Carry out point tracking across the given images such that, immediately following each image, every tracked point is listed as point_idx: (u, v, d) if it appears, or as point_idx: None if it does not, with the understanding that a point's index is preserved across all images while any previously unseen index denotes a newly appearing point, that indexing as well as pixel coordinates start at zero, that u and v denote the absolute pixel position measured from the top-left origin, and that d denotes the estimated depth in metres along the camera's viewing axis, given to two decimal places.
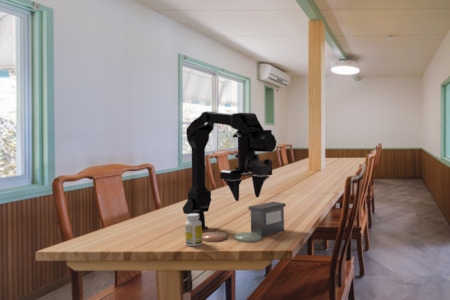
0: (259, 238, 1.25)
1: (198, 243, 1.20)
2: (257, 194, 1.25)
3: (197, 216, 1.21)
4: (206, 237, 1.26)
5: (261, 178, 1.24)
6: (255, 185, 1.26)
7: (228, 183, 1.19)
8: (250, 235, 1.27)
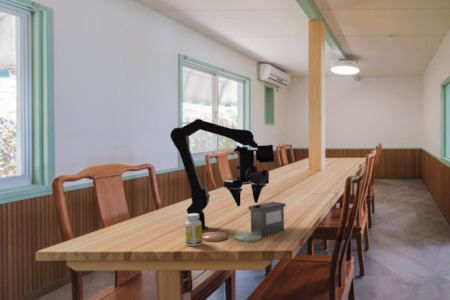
0: (259, 238, 1.25)
1: (198, 243, 1.20)
2: (256, 200, 1.44)
3: (197, 216, 1.21)
4: (206, 237, 1.26)
5: (259, 186, 1.43)
6: (254, 192, 1.45)
7: (231, 191, 1.38)
8: (250, 235, 1.27)
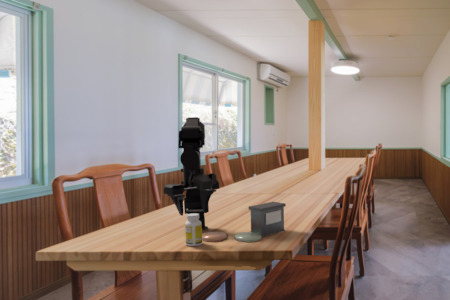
0: (259, 238, 1.25)
1: (198, 243, 1.20)
2: (204, 208, 1.24)
3: (197, 216, 1.21)
4: (206, 237, 1.26)
5: (207, 192, 1.24)
6: (202, 199, 1.25)
7: (172, 198, 1.19)
8: (250, 235, 1.27)
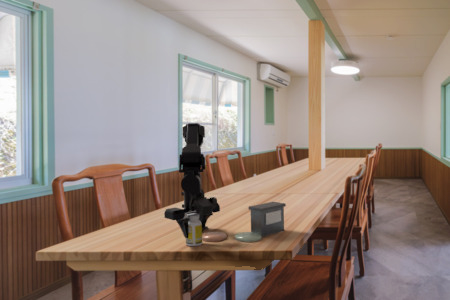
0: (259, 238, 1.25)
1: (198, 243, 1.20)
2: None
3: (197, 216, 1.21)
4: (206, 237, 1.26)
5: (204, 216, 1.23)
6: None
7: (178, 221, 1.20)
8: (250, 235, 1.27)
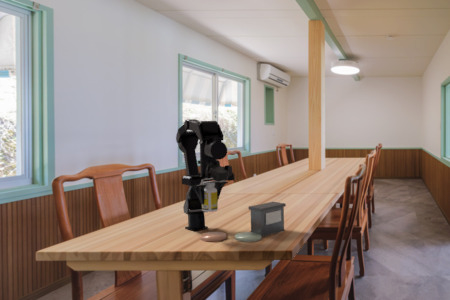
0: (259, 238, 1.25)
1: (214, 209, 1.25)
2: None
3: (213, 183, 1.26)
4: (206, 237, 1.26)
5: (219, 184, 1.28)
6: None
7: (194, 187, 1.26)
8: (250, 235, 1.27)
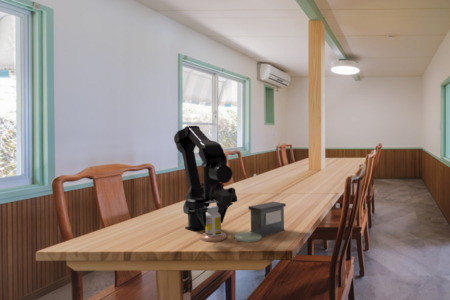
0: (259, 238, 1.25)
1: (217, 234, 1.27)
2: (221, 220, 1.31)
3: (216, 208, 1.27)
4: (206, 237, 1.26)
5: (224, 205, 1.30)
6: (219, 212, 1.32)
7: (196, 210, 1.26)
8: (250, 235, 1.27)
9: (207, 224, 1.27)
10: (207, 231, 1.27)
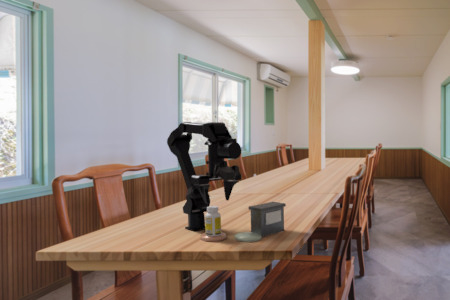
0: (259, 238, 1.25)
1: (217, 234, 1.27)
2: (227, 197, 1.34)
3: (216, 208, 1.27)
4: (206, 237, 1.26)
5: (230, 183, 1.33)
6: (225, 189, 1.35)
7: (198, 187, 1.29)
8: (250, 235, 1.27)
9: (207, 224, 1.27)
10: (207, 231, 1.27)
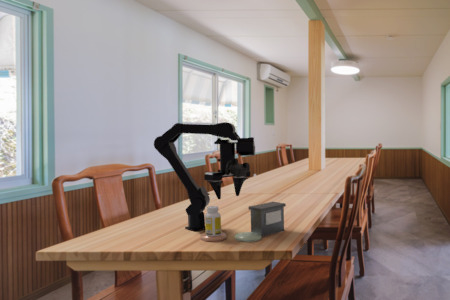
0: (259, 238, 1.25)
1: (217, 234, 1.27)
2: (237, 193, 1.43)
3: (216, 208, 1.27)
4: (206, 237, 1.26)
5: (240, 179, 1.42)
6: (235, 185, 1.44)
7: (211, 184, 1.37)
8: (250, 235, 1.27)
9: (207, 224, 1.27)
10: (207, 231, 1.27)
